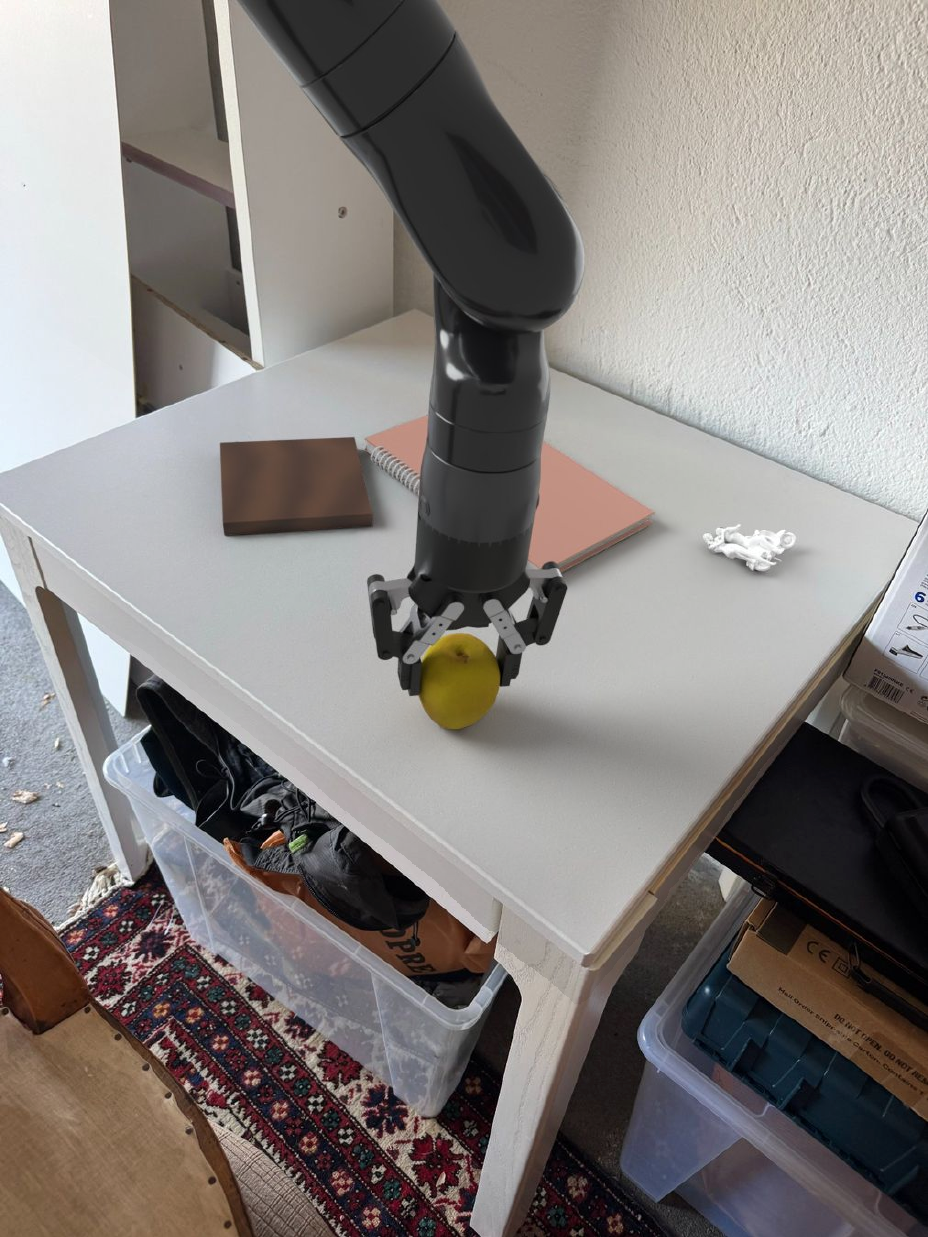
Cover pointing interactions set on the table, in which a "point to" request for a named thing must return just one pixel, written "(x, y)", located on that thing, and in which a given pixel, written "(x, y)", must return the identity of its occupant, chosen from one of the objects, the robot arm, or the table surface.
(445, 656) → the apple
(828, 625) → the table surface
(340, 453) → the cutting board
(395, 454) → the notebook
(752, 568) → the figurine
